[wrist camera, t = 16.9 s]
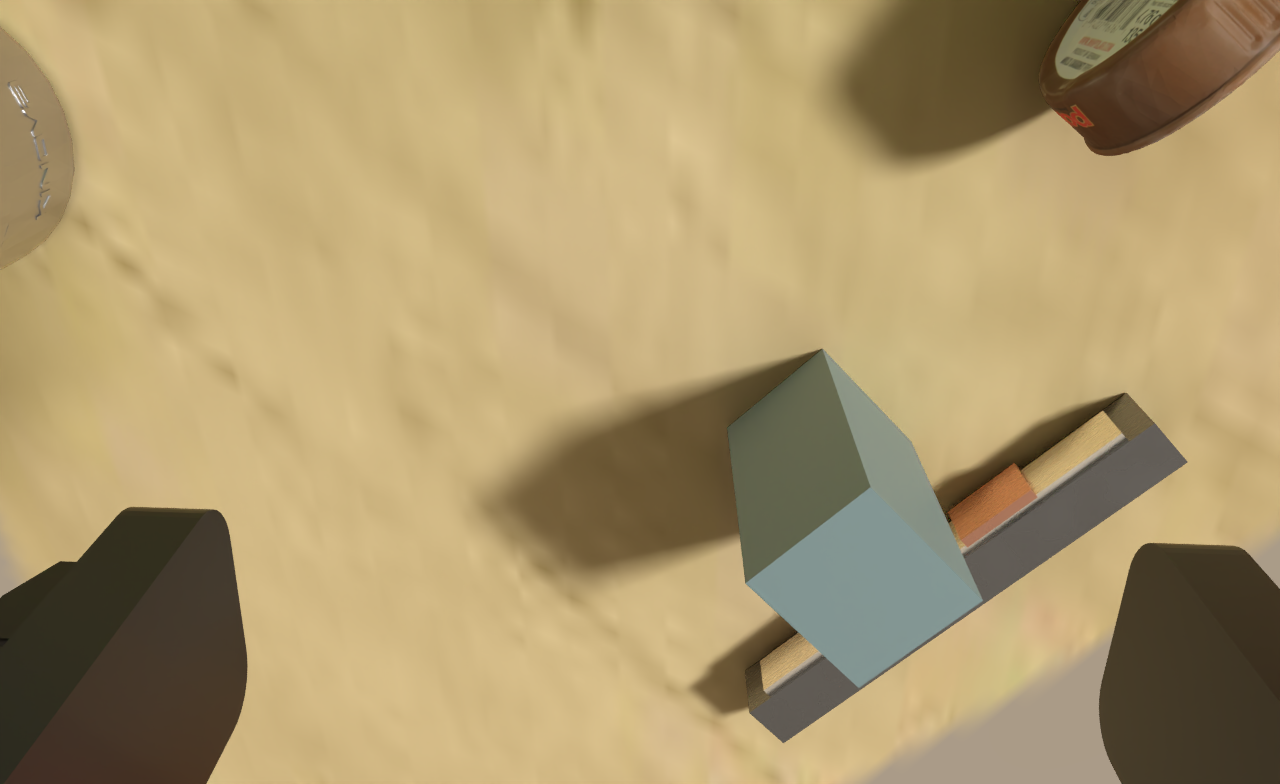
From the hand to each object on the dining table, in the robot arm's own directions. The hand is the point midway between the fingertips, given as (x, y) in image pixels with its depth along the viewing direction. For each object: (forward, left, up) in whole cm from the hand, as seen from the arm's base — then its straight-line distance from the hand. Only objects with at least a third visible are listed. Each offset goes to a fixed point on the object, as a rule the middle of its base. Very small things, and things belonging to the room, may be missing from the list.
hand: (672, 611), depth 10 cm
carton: (+6, -12, -28) cm, 31 cm away
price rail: (+11, -17, -28) cm, 35 cm away
